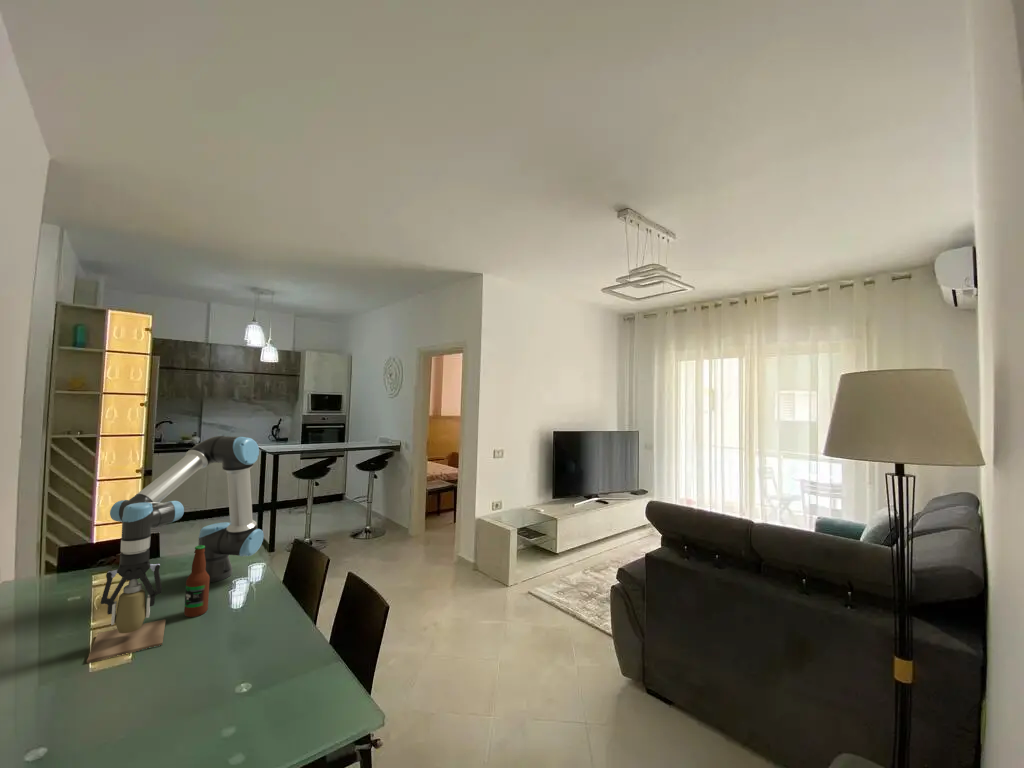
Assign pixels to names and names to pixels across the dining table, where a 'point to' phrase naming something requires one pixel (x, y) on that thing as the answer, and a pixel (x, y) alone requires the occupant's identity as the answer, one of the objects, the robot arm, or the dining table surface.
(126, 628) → the squeeze bottle
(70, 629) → the dining table surface
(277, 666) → the dining table surface
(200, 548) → the bottle
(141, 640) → the walnut board
